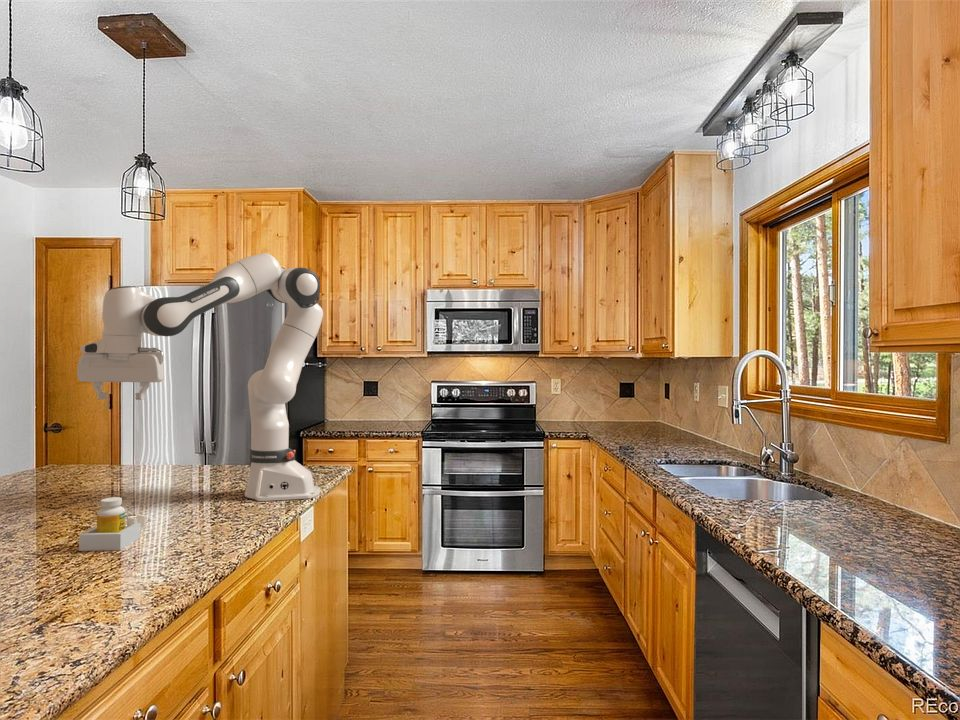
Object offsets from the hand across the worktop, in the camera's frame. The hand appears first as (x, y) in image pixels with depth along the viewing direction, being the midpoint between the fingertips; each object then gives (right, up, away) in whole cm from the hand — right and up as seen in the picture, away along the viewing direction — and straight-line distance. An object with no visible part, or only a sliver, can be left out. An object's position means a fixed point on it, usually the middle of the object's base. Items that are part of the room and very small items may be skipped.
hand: (121, 399), depth 148 cm
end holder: (+12, -31, -22) cm, 40 cm away
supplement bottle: (+12, -31, -22) cm, 39 cm away
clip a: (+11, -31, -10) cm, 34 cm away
